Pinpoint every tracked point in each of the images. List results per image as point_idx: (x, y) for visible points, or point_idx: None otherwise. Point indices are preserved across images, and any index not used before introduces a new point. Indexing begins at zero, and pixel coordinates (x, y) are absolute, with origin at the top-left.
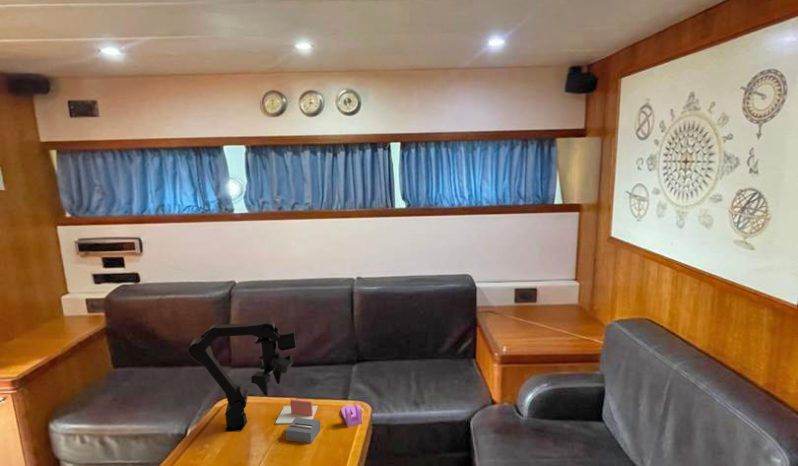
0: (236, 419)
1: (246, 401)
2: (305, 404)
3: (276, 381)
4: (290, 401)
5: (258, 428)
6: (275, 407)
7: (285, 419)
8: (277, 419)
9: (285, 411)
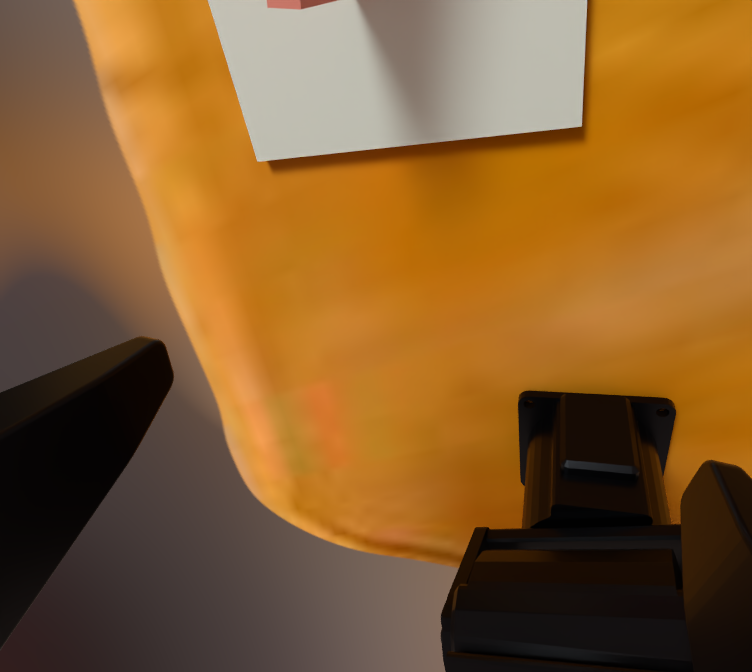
0: (665, 505)
1: (631, 601)
2: None
3: (145, 421)
4: (310, 4)
5: (645, 273)
6: (287, 241)
7: (505, 16)
8: (507, 128)
9: (341, 101)
